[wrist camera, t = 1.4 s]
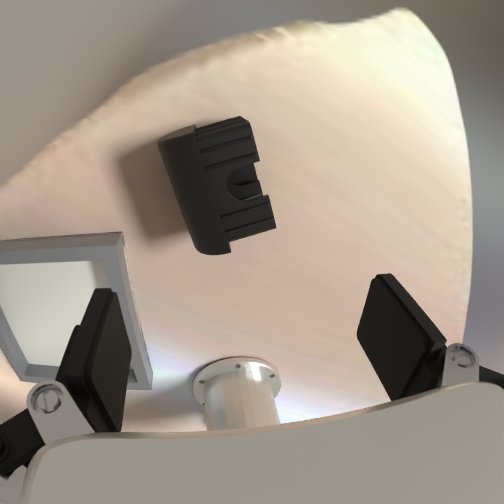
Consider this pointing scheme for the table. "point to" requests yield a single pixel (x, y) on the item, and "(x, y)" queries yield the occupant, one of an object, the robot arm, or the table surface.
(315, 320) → the table surface
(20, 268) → the tray
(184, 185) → the end cap
